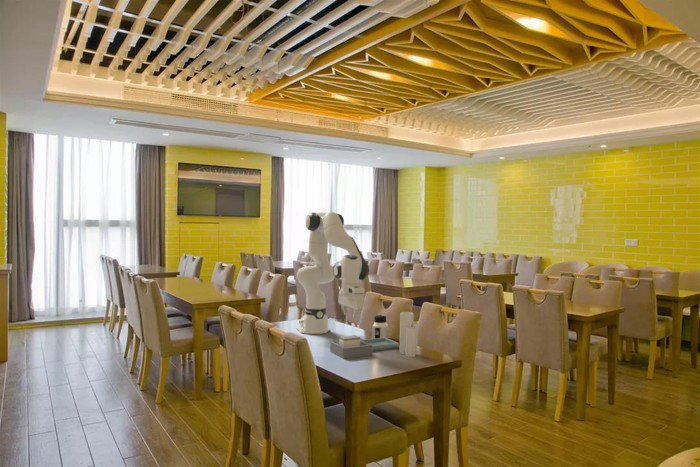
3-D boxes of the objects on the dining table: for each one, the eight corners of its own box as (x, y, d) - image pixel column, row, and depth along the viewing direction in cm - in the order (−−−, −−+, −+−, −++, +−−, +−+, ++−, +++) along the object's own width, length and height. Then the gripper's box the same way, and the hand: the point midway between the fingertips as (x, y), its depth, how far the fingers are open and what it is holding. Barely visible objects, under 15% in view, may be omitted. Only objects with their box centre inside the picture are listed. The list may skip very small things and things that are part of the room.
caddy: (339, 352, 244) (339, 336, 244) (355, 350, 248) (355, 335, 248) (343, 355, 240) (343, 338, 239) (359, 353, 244) (360, 337, 244)
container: (385, 340, 271) (386, 317, 271) (372, 339, 273) (372, 316, 272) (387, 337, 279) (388, 314, 278) (374, 336, 280) (374, 313, 280)
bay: (330, 351, 246) (330, 341, 245) (357, 348, 253) (357, 338, 253) (343, 359, 233) (343, 348, 232) (371, 355, 240) (371, 345, 240)
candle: (396, 351, 247) (397, 312, 247) (408, 350, 250) (409, 311, 250) (409, 357, 237) (410, 316, 237) (421, 356, 240) (422, 315, 240)
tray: (355, 345, 259) (355, 340, 259) (384, 341, 268) (384, 337, 268) (368, 351, 247) (369, 346, 247) (398, 347, 255) (399, 343, 255)
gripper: (335, 286, 251) (335, 313, 251) (354, 290, 233) (354, 319, 233) (346, 285, 254) (346, 312, 254) (366, 290, 236) (366, 318, 236)
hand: (350, 316), depth 243 cm, fingers open, 8 cm apart
